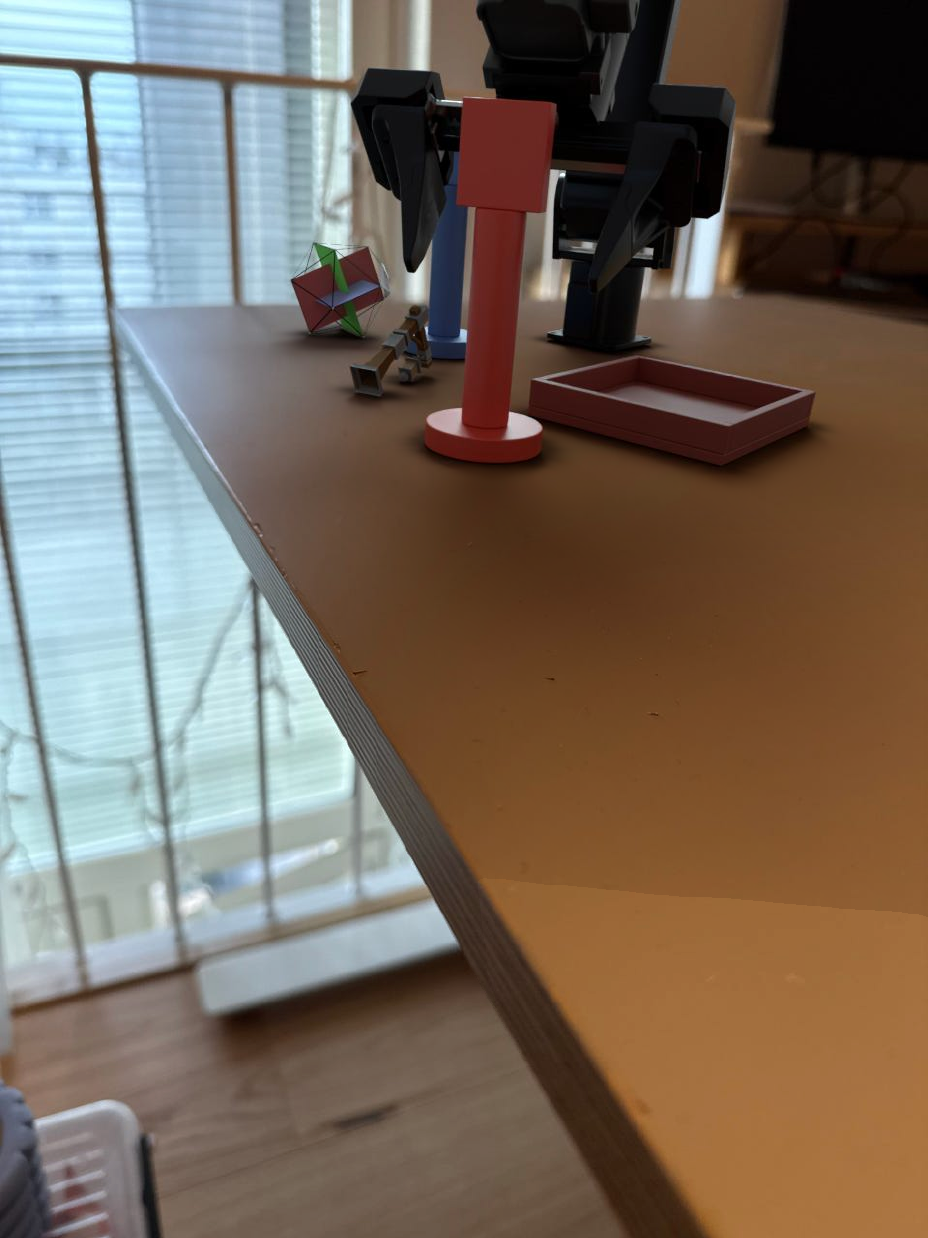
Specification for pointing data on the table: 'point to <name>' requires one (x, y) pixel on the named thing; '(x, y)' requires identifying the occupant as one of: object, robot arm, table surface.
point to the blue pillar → (447, 278)
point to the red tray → (672, 407)
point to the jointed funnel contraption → (396, 354)
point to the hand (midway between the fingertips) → (498, 276)
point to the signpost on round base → (496, 274)
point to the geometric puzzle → (339, 289)
